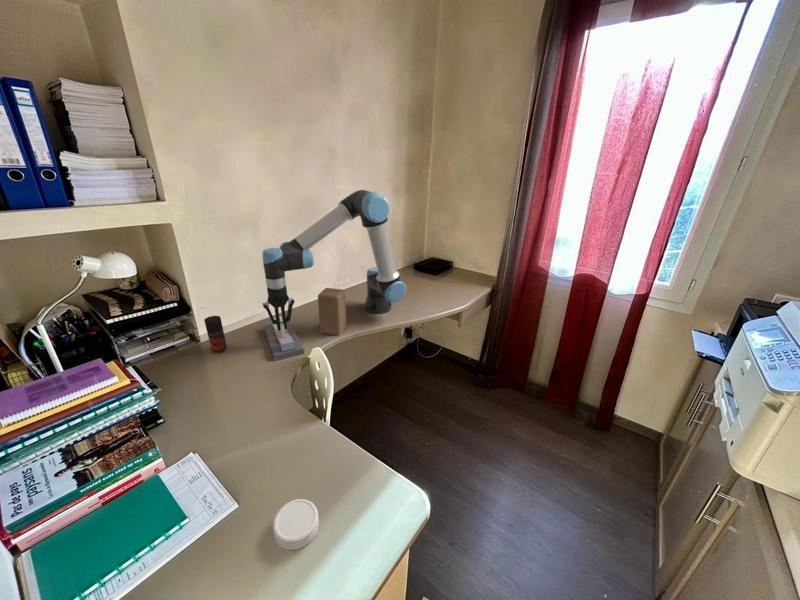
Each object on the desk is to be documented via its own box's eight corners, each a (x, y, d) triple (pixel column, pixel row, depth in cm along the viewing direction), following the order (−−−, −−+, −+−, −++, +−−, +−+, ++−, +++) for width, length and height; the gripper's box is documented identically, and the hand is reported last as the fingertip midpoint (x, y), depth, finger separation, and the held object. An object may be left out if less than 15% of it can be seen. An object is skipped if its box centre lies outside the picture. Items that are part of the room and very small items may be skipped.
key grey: (282, 322, 163) (281, 316, 161) (284, 327, 159) (283, 320, 158) (271, 324, 161) (270, 318, 159) (273, 329, 157) (272, 322, 155)
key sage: (285, 329, 157) (284, 322, 156) (287, 333, 153) (286, 327, 152) (274, 331, 155) (273, 324, 154) (276, 336, 151) (275, 329, 150)
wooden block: (339, 336, 157) (337, 297, 149) (319, 333, 159) (316, 295, 151) (347, 326, 166) (345, 288, 158) (328, 323, 168) (325, 286, 160)
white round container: (264, 541, 76) (262, 531, 74) (292, 501, 84) (291, 492, 83) (302, 559, 73) (300, 549, 71) (327, 516, 81) (326, 506, 80)
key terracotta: (288, 339, 153) (288, 332, 151) (291, 344, 149) (290, 337, 147) (277, 341, 150) (276, 335, 149) (279, 347, 146) (278, 340, 145)
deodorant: (208, 352, 143) (200, 320, 137) (219, 345, 148) (212, 314, 142) (219, 355, 141) (212, 323, 135) (230, 347, 146) (223, 317, 140)
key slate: (291, 343, 146) (291, 336, 145) (294, 348, 142) (293, 341, 141) (280, 346, 144) (279, 338, 143) (282, 351, 140) (281, 344, 139)
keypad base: (289, 324, 167) (289, 320, 166) (304, 353, 144) (303, 348, 143) (264, 329, 161) (263, 325, 160) (274, 360, 138) (274, 355, 137)
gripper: (290, 280, 144) (296, 329, 154) (258, 285, 138) (266, 335, 148) (294, 286, 138) (300, 336, 148) (261, 292, 132) (269, 343, 142)
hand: (283, 335), depth 148 cm, fingers closed
